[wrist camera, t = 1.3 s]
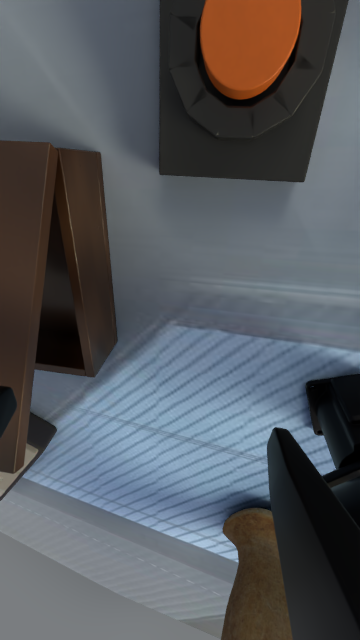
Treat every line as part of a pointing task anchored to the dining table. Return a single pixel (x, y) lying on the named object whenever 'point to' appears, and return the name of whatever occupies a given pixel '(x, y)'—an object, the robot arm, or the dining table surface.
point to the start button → (247, 43)
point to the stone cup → (256, 580)
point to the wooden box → (77, 272)
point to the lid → (22, 277)
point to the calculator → (29, 451)
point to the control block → (242, 101)
